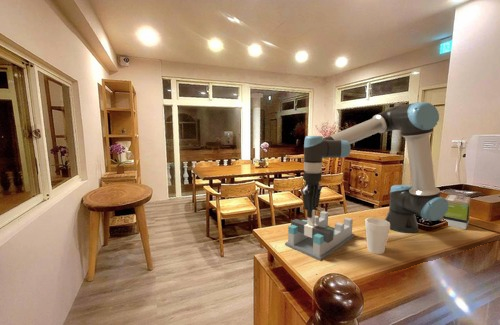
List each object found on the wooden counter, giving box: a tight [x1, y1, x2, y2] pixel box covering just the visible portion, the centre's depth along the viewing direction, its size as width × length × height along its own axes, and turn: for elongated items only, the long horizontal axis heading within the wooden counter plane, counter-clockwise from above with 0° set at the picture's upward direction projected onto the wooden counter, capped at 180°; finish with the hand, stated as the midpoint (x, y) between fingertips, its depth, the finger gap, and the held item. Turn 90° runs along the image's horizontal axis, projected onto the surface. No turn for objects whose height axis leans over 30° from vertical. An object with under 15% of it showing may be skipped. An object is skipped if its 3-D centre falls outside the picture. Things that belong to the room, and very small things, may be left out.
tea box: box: [442, 194, 472, 231], centre depth 127 cm, size 15×10×15 cm, turn 133°
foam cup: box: [364, 217, 391, 255], centre depth 99 cm, size 10×9×13 cm
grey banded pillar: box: [290, 218, 333, 243], centre depth 103 cm, size 19×5×5 cm, turn 43°
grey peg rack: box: [284, 210, 356, 262], centre depth 109 cm, size 18×32×9 cm, turn 132°
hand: (310, 224), depth 102 cm, fingers closed
